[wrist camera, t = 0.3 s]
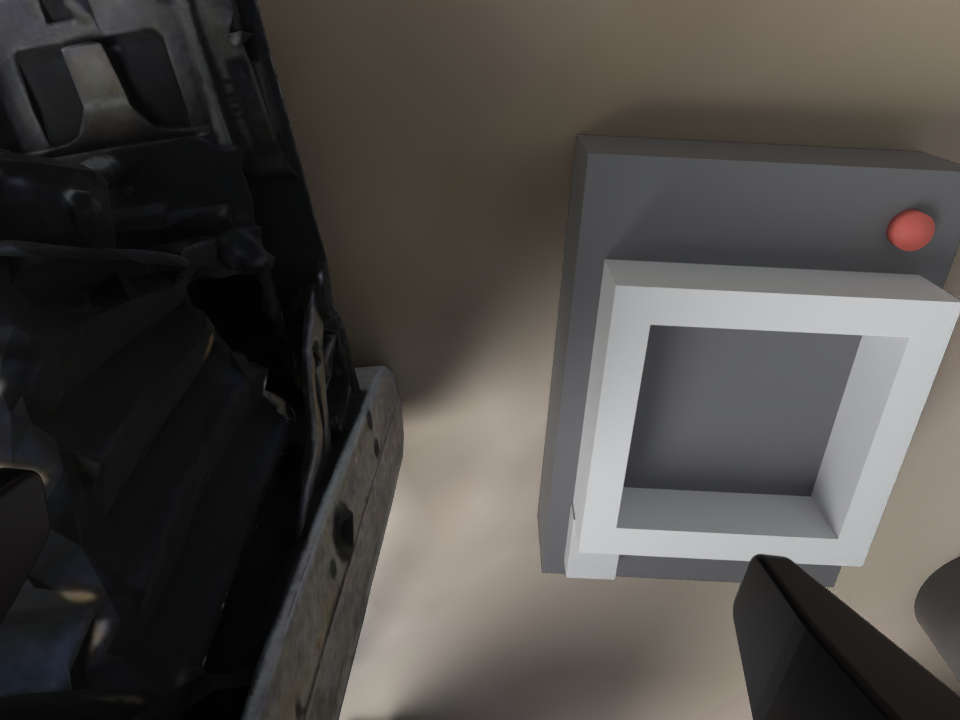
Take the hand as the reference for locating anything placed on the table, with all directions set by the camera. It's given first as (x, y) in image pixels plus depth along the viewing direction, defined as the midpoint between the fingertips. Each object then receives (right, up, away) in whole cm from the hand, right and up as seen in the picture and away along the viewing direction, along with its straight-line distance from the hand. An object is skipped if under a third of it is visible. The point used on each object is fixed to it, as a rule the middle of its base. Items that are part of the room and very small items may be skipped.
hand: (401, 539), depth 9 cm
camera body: (+8, +2, +15) cm, 17 cm away
